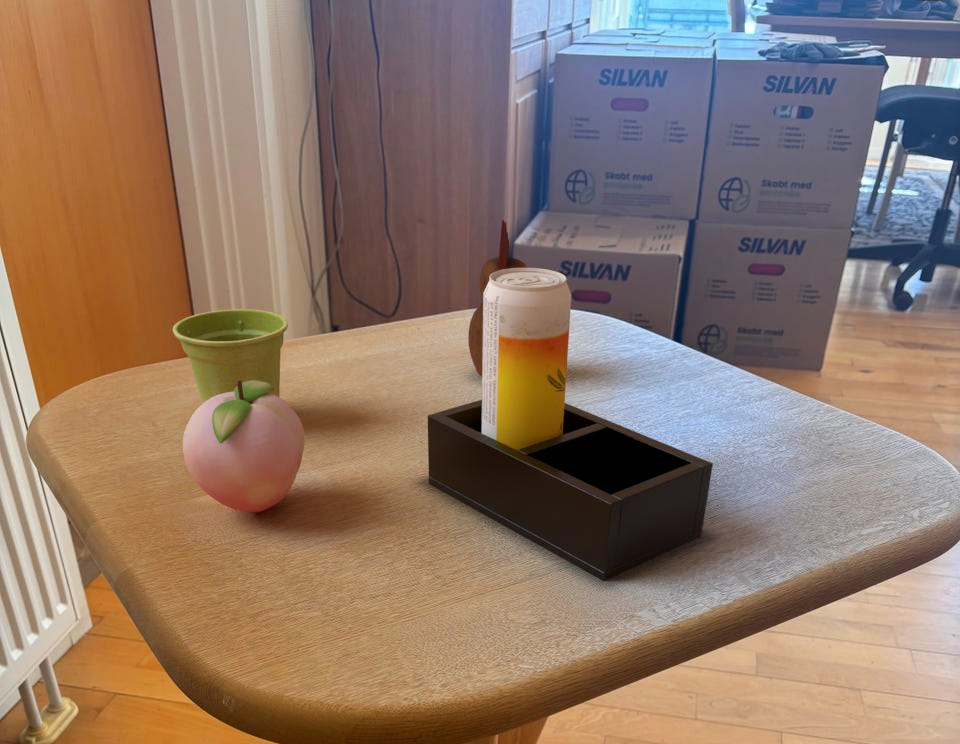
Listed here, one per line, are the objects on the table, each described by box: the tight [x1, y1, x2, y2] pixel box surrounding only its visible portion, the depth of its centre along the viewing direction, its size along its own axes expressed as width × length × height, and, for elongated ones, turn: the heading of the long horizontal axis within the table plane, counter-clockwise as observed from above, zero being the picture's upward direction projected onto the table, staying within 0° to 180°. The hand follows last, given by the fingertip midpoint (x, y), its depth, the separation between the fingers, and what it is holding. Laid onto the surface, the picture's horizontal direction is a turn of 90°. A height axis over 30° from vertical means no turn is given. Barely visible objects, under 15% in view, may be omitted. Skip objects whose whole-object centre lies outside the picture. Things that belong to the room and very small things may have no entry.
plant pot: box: [172, 308, 289, 404], centre depth 84 cm, size 9×9×9 cm
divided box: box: [427, 399, 714, 582], centre depth 71 cm, size 10×19×6 cm, turn 40°
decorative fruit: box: [182, 380, 306, 513], centre depth 69 cm, size 9×8×10 cm
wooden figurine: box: [467, 219, 528, 378], centre depth 93 cm, size 7×6×15 cm
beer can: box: [481, 267, 572, 450], centre depth 71 cm, size 6×6×15 cm
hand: (891, 0), depth 57 cm, fingers open, 8 cm apart
